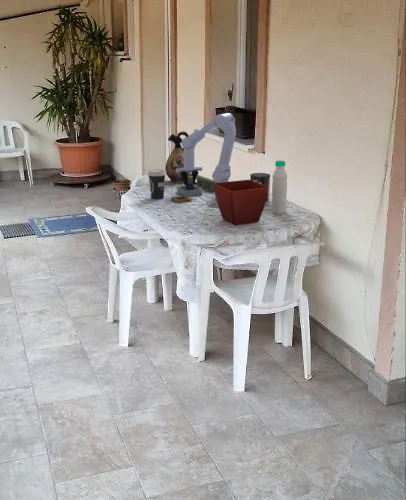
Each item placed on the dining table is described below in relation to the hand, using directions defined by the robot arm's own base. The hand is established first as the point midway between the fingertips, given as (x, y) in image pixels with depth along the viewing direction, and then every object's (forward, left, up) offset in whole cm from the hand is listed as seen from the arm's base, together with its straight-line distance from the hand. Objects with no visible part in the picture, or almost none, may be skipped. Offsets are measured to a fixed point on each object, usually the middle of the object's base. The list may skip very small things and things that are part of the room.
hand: (189, 184), depth 341 cm
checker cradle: (-14, +10, -5) cm, 18 cm away
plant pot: (-62, -1, -6) cm, 62 cm away
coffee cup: (-3, +19, -5) cm, 20 cm away
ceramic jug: (+34, -7, -5) cm, 35 cm away
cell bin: (0, 0, -5) cm, 5 cm away
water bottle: (-55, -25, -5) cm, 61 cm away
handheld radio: (+11, -13, -6) cm, 18 cm away
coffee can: (-31, -27, -6) cm, 41 cm away
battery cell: (0, 0, -2) cm, 2 cm away
